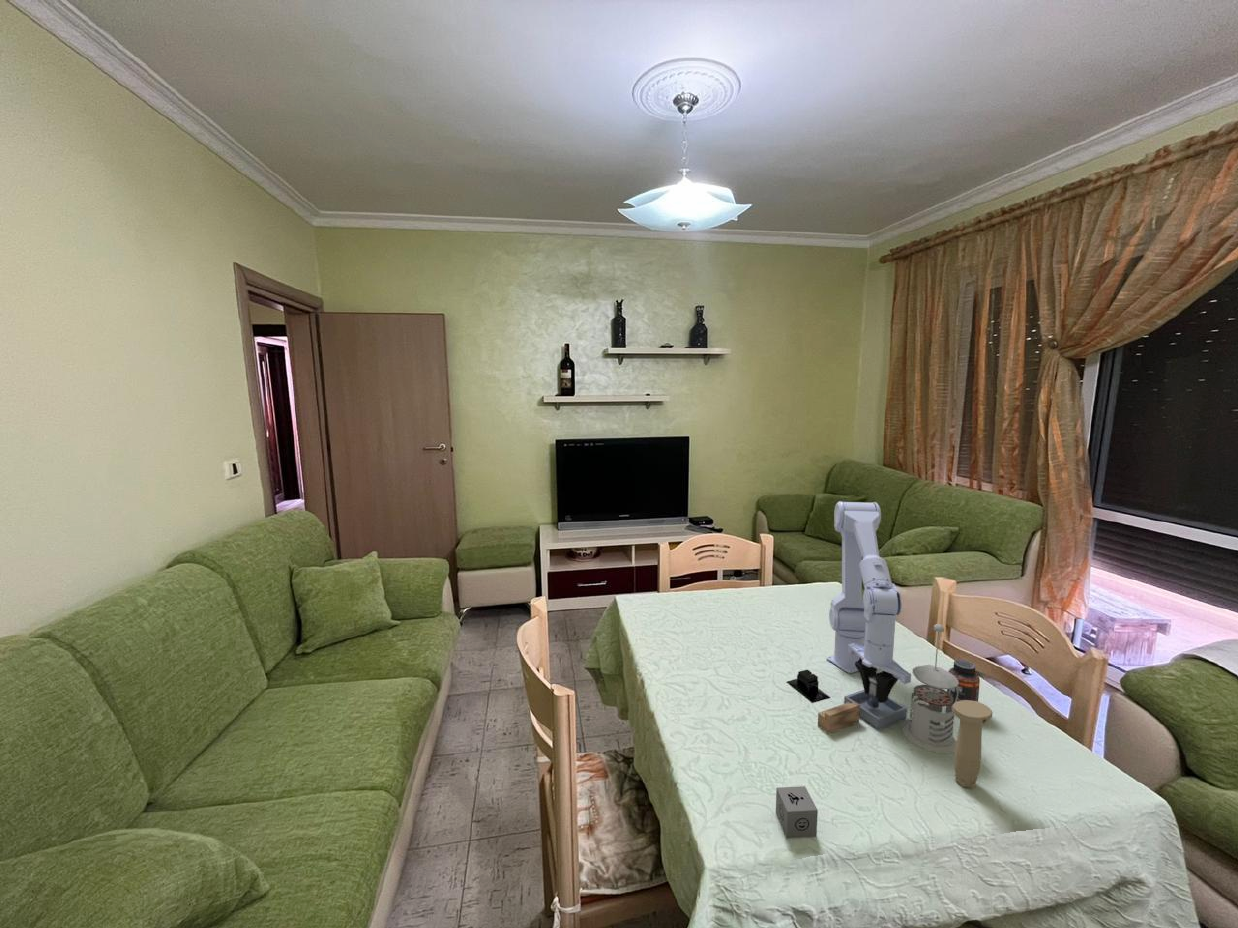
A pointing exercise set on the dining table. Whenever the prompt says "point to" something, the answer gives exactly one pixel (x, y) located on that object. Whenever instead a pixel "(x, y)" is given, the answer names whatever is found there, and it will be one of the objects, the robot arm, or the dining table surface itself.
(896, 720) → the tray
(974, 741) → the handle
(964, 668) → the supplement bottle
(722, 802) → the dining table surface
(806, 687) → the build plate
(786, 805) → the dice cube
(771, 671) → the dining table surface
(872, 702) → the pin
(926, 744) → the french press
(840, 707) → the bar
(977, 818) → the dining table surface
